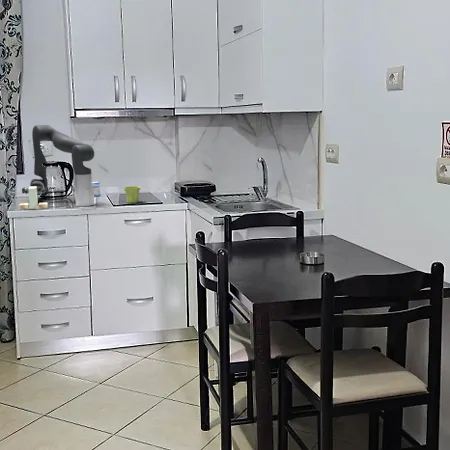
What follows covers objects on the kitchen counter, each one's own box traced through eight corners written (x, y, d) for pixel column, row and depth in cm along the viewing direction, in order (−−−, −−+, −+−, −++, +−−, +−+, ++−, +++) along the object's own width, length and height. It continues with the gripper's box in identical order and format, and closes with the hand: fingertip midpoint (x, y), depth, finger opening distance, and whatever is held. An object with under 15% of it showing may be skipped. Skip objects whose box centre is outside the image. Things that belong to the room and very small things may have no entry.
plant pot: (131, 204, 371) (131, 188, 370) (120, 202, 377) (120, 187, 376) (144, 202, 378) (144, 187, 377) (133, 200, 384) (133, 185, 383)
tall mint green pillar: (37, 206, 364) (36, 186, 362) (36, 208, 357) (35, 188, 355) (31, 206, 364) (29, 186, 362) (29, 208, 356) (28, 188, 354)
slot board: (47, 206, 365) (47, 202, 364) (46, 208, 358) (46, 204, 358) (21, 207, 362) (20, 203, 362) (19, 209, 356) (19, 205, 355)
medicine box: (91, 197, 402) (90, 183, 401) (86, 197, 405) (85, 182, 403) (100, 196, 408) (100, 182, 407) (95, 195, 411) (95, 181, 409)
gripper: (23, 182, 381) (20, 185, 366) (49, 181, 384) (47, 184, 368) (24, 195, 383) (21, 198, 367) (50, 194, 385) (48, 197, 370)
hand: (34, 191), depth 368 cm, fingers open, 8 cm apart
